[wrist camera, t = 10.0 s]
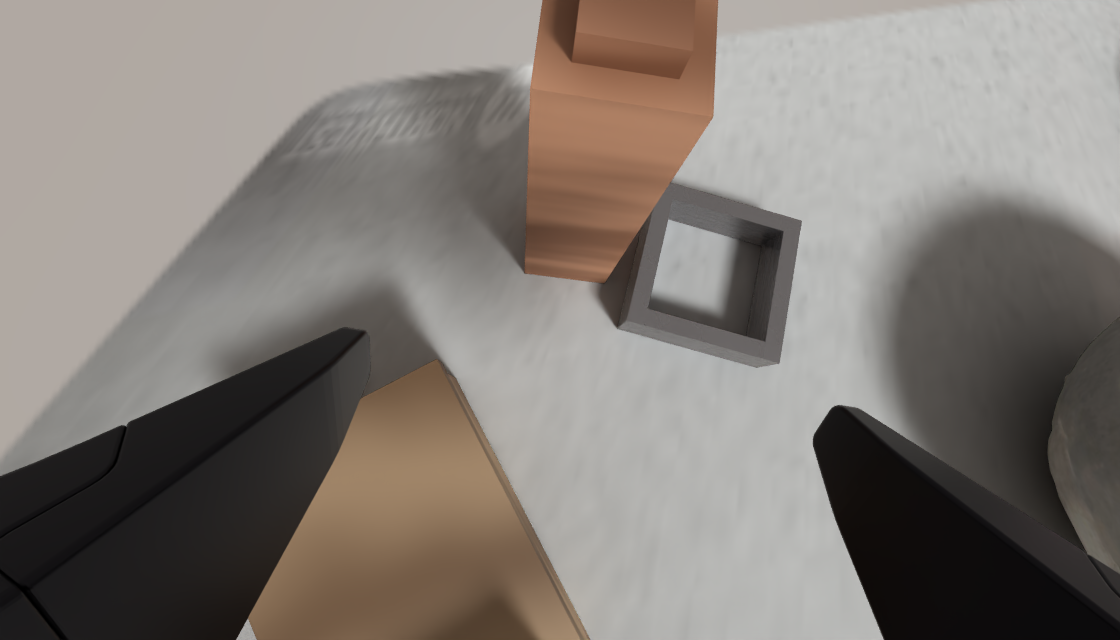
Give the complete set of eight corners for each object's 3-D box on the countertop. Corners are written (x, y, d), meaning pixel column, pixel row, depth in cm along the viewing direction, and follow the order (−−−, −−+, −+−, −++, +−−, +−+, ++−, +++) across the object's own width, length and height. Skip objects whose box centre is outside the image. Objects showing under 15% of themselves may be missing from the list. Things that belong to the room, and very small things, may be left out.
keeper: (756, 367, 22) (779, 363, 20) (617, 328, 22) (626, 320, 20) (778, 236, 24) (801, 220, 22) (648, 199, 24) (660, 179, 22)
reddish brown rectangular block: (604, 283, 22) (729, 91, 9) (524, 273, 22) (531, 59, 9) (610, 209, 23) (735, -68, 10) (534, 199, 23) (553, -100, 10)
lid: (623, 717, 15) (660, 826, 11) (385, 890, 13) (330, 1086, 10) (441, 361, 17) (417, 346, 13) (214, 480, 15) (108, 504, 11)
